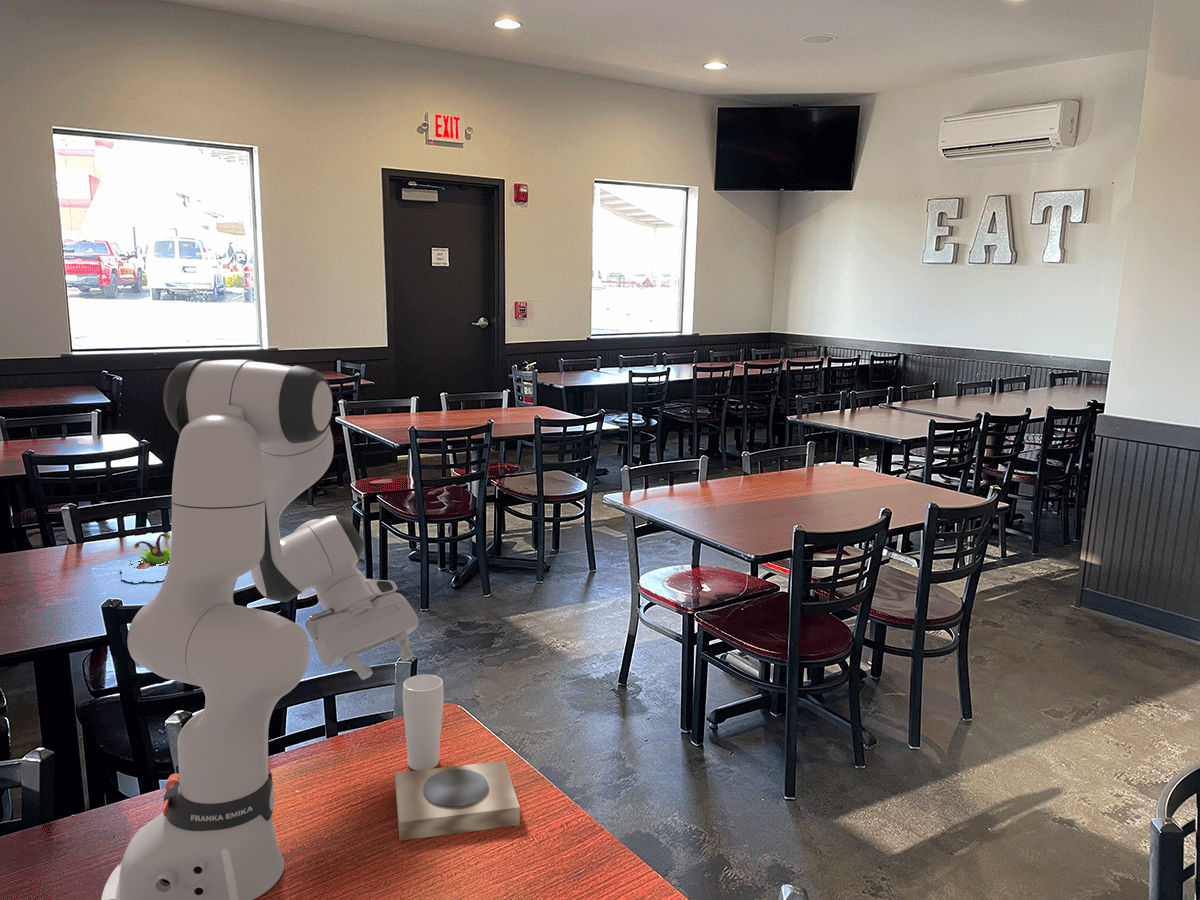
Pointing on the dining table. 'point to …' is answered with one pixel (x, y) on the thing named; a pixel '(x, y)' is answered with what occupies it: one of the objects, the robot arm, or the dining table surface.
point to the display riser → (455, 800)
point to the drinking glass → (423, 720)
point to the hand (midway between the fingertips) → (388, 667)
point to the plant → (154, 554)
